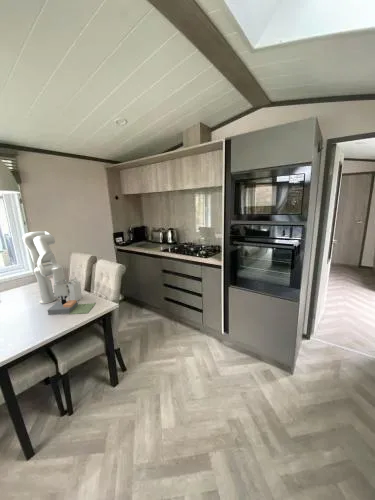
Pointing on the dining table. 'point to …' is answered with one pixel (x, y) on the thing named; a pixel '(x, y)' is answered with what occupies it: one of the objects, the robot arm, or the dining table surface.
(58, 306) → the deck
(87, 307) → the mat
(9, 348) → the dining table surface
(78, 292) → the milk carton
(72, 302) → the tile
